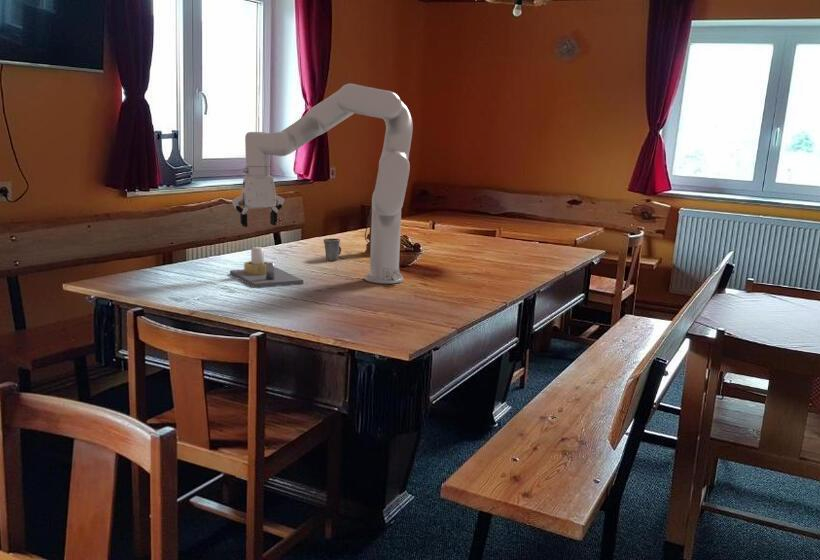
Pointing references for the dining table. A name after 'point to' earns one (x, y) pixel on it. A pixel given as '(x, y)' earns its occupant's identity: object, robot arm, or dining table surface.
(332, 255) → the grey mug
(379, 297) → the dining table surface
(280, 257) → the dining table surface
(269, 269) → the small stub
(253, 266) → the brass socket
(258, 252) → the white rounded peg
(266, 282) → the fitting board
